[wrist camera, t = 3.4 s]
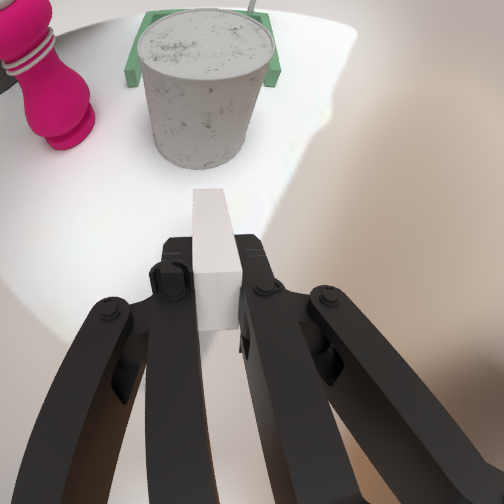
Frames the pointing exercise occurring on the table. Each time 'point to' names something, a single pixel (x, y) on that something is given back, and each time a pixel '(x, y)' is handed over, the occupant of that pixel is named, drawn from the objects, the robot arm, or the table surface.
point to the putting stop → (133, 62)
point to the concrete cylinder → (203, 82)
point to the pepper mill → (43, 74)
